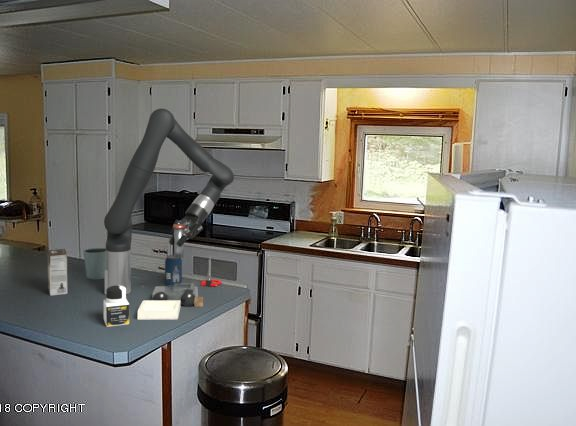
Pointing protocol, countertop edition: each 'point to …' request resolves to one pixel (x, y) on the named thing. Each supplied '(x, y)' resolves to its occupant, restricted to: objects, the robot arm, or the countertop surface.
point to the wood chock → (198, 302)
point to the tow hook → (209, 280)
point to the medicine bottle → (116, 306)
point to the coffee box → (57, 271)
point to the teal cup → (95, 262)
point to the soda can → (173, 270)
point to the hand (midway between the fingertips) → (174, 244)
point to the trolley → (177, 293)
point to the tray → (159, 309)
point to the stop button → (177, 234)
